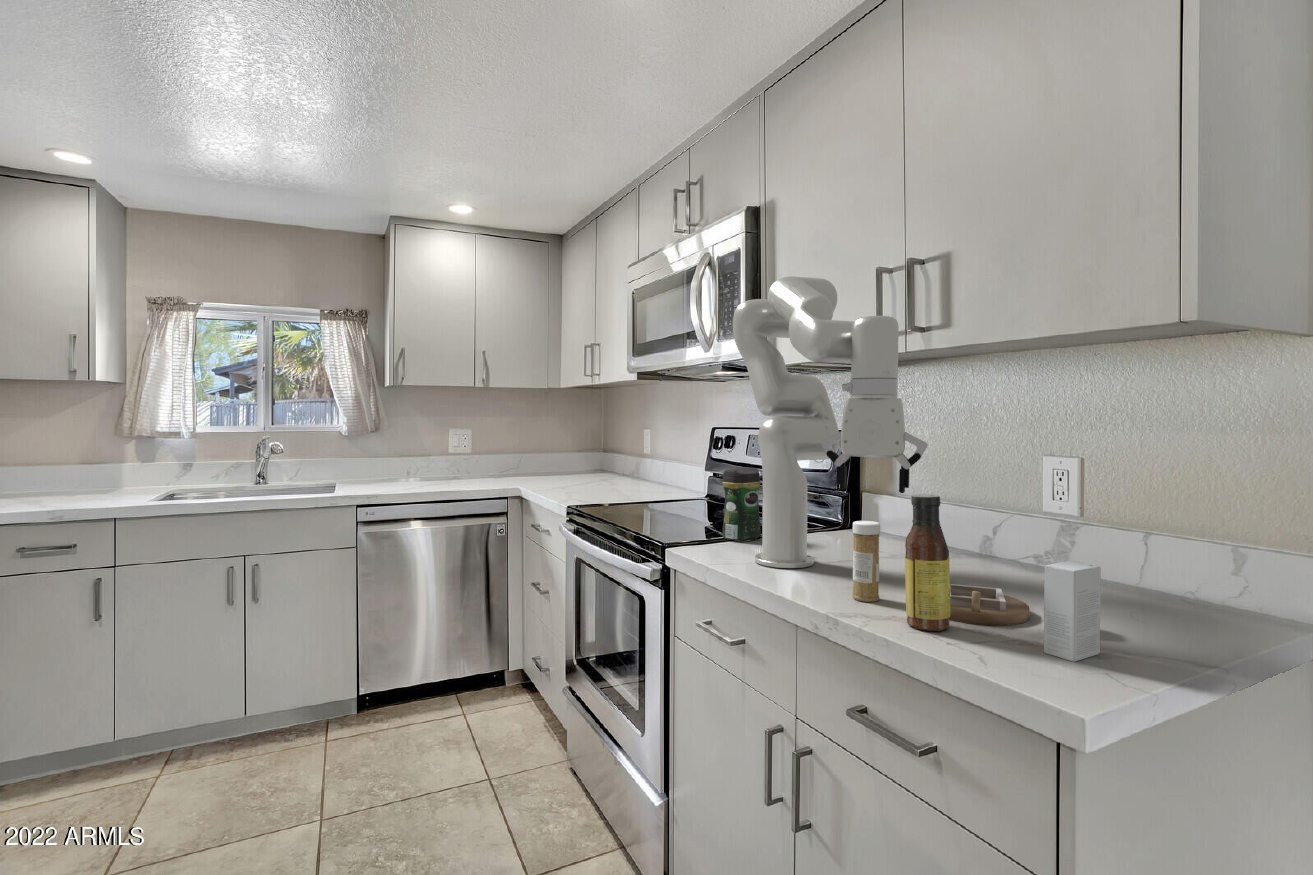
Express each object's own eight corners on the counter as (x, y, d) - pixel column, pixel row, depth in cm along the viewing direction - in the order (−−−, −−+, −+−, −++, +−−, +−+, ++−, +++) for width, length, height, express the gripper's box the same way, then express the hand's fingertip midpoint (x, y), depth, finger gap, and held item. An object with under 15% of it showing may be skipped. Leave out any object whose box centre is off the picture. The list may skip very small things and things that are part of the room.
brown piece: (921, 593, 120) (922, 568, 120) (1023, 603, 114) (1023, 577, 114) (919, 617, 105) (920, 589, 105) (1035, 631, 99) (1036, 600, 99)
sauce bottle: (959, 629, 100) (961, 496, 99) (931, 635, 97) (933, 499, 96) (922, 617, 105) (924, 492, 105) (895, 623, 102) (896, 494, 102)
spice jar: (884, 600, 115) (885, 522, 115) (867, 604, 113) (868, 524, 112) (863, 594, 119) (864, 519, 119) (846, 597, 117) (847, 521, 116)
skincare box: (1067, 645, 93) (1070, 559, 92) (1100, 655, 89) (1102, 566, 89) (1041, 652, 90) (1043, 564, 90) (1073, 663, 86) (1076, 570, 86)
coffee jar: (743, 535, 178) (744, 465, 177) (765, 539, 172) (766, 467, 171) (716, 539, 172) (717, 467, 172) (738, 543, 166) (738, 469, 165)
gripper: (818, 389, 114) (816, 490, 114) (927, 389, 106) (925, 496, 107) (826, 391, 120) (824, 485, 121) (929, 390, 113) (927, 491, 114)
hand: (872, 490), depth 114 cm, fingers open, 9 cm apart
